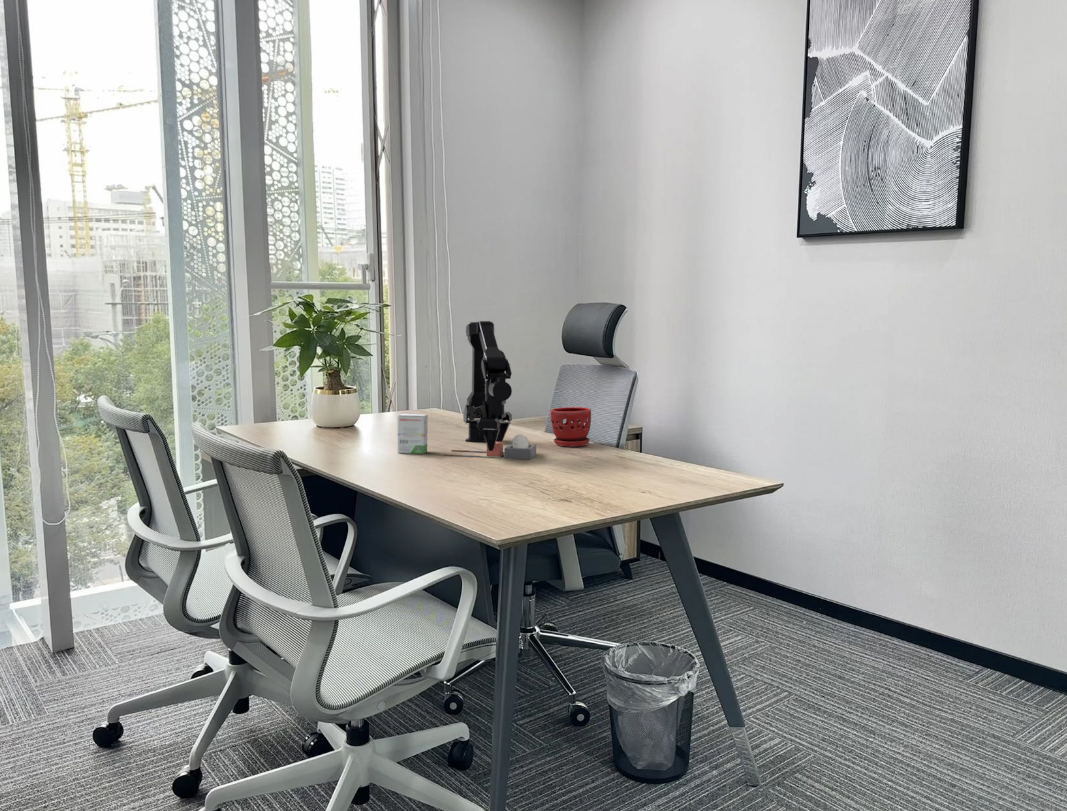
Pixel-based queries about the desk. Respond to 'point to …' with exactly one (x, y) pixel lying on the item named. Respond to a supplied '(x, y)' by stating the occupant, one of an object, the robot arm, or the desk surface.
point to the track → (471, 455)
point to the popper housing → (519, 452)
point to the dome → (520, 441)
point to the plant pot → (571, 426)
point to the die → (496, 450)
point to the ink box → (412, 433)
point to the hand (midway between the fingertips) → (494, 448)
